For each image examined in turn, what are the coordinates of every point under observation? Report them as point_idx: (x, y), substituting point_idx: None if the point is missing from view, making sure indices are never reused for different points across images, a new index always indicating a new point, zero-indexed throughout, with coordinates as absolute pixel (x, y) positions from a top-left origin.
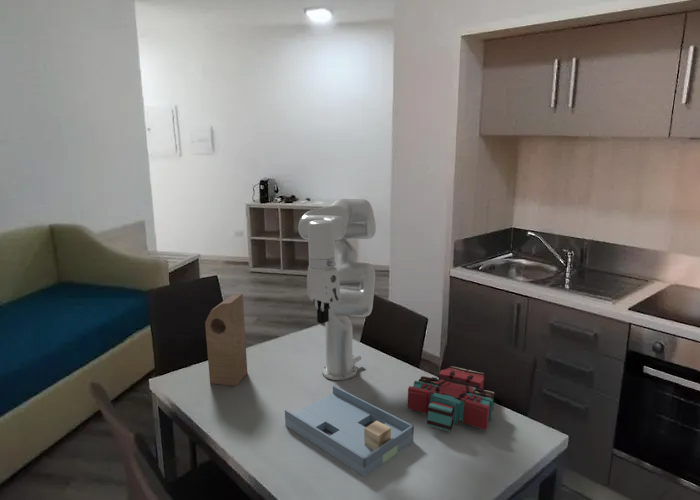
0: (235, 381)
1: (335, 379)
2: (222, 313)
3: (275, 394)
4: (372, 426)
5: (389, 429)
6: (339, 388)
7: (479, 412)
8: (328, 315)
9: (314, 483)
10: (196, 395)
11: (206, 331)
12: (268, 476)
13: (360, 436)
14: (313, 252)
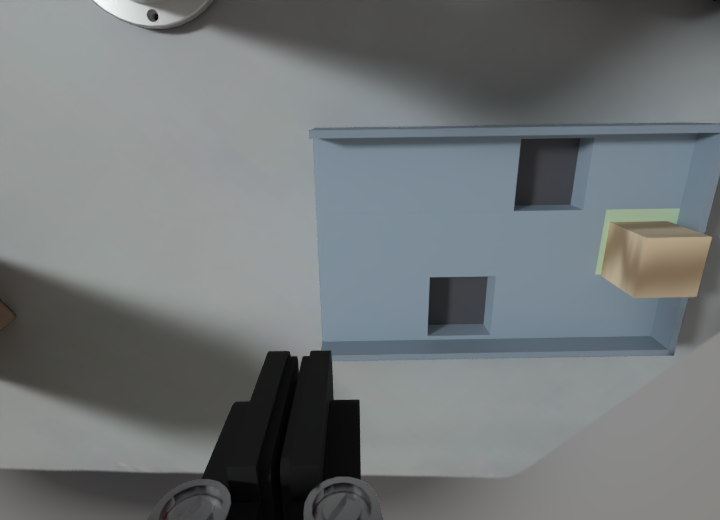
0: (3, 325)
1: (200, 13)
2: None
3: (148, 255)
4: (652, 273)
5: (708, 243)
6: (344, 131)
7: None
8: (327, 391)
9: (555, 414)
10: (9, 420)
11: None
12: (458, 462)
13: (568, 256)
14: None
